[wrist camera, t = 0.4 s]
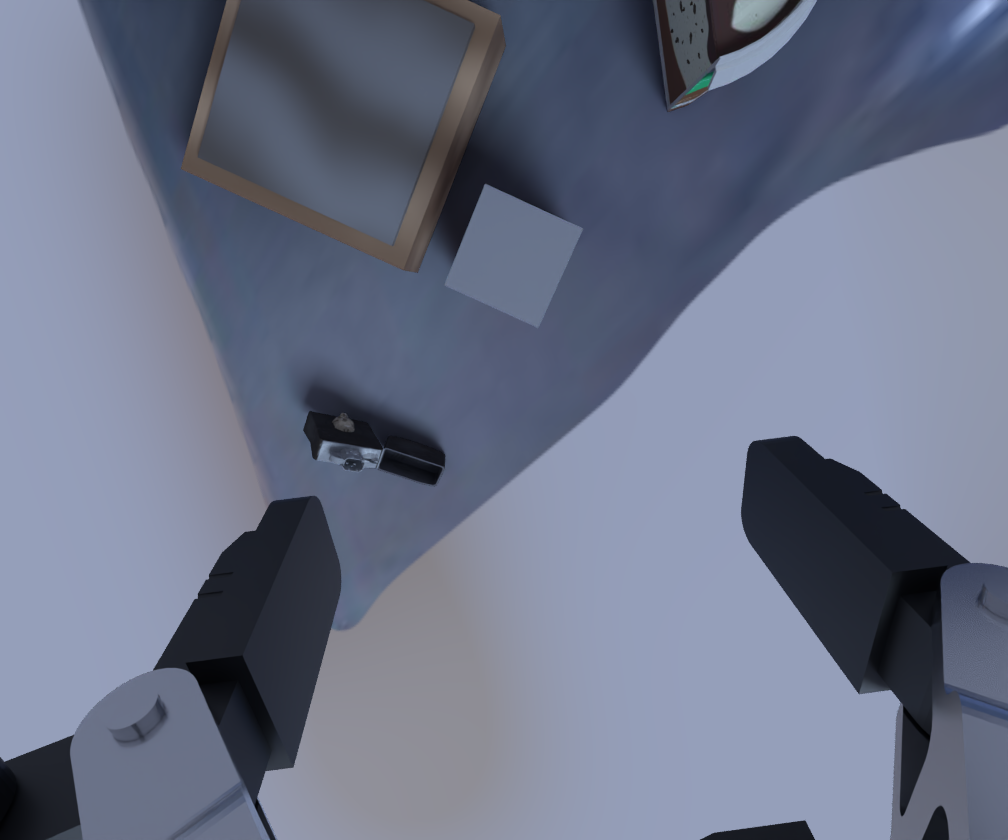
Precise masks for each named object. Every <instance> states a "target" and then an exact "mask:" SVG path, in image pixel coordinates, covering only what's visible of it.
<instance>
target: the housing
mask: <svg viewBox="0 0 1008 840" xmlns="http://www.w3.org/2000/svg"><path fill="white" fill-rule="evenodd" d="M582 230H583V228H581V227H578V226H576V225H574V224H572V223H570V222H568V221H565V220H563V219H561V218H559V217H557V216H554V215H552V214H550V213H548V212H546V211H544V210H541V209H539V208H537V207H535V206H533V205H530V204H528V203H526V202H524V201H522V200H520V199H517V198H515V197H513V196H511V195H509V194H506V193H504V192H502V191H500V190H498V189H496V188H493V187H491V186H489V185H487V184H485V185H484V188H483V190H482V193H481V195H480V198H479V200H478V203H477V205H476V208H475V210H474V212H473V215H472V217H471V220H470V222H469V225H468V227H467V230H466V232H465V235H464V237H463V240H462V242H461V245H460V247H459V250H458V252H457V255H456V257H455V260H454V262H453V265H452V267H451V270H450V272H449V275H448V277H447V280H446V282H445V286H447V287H449V288H451V289H454V290H456V291H458V292H460V293H462V294H464V295H467V296H469V297H471V298H473V299H475V300H478V301H480V302H482V303H484V304H486V305H489V306H491V307H493V308H495V309H497V310H500V311H502V312H504V313H506V314H508V315H511V316H513V317H515V318H517V319H519V320H522V321H524V322H526V323H528V324H530V325H533V326H535V327H537V328H538V327H539V325H540V323H541V321H542V319H543V316H544V314H545V312H546V310H547V307H548V305H549V303H550V301H551V299H552V296H553V294H554V292H555V290H556V288H557V285H558V283H559V281H560V279H561V277H562V274H563V272H564V270H565V268H566V266H567V263H568V261H569V259H570V257H571V254H572V252H573V250H574V248H575V246H576V243H577V241H578V239H579V237H580V235H581V232H582Z"/></svg>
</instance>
